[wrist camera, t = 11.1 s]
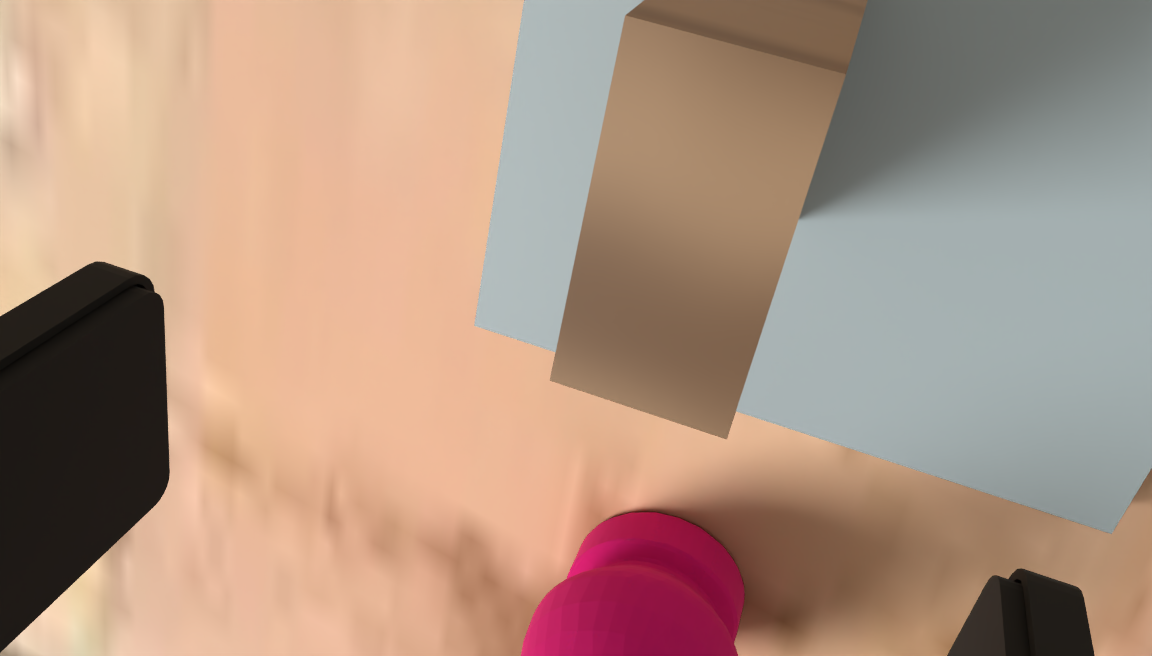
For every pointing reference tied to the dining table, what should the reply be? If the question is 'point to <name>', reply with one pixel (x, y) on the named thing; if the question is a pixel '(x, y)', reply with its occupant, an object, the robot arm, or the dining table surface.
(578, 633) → the pepper mill
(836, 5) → the walnut slab
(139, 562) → the dining table surface
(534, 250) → the board
